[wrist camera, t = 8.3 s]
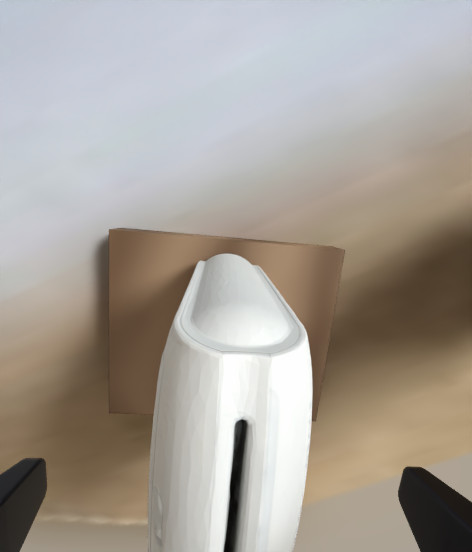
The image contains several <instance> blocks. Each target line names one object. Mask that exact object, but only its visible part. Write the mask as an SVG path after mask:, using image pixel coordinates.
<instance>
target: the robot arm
mask: <svg viewBox="0 0 472 552" xmlns="http://www.w3.org/2000/svg"><path fill="white" fill-rule="evenodd" d="M46 490H47V477H46V463H45V460H44V459H42V458H25V459H23V460H21V461H20V462H18V463H17V464H15V465H14V466H12V467H11V468H10V469H8V470H7V471H5V472H4V473H2V474H1V475H0V552H19V551H20V549H21V547H22V545H23V543H24V541H25V538H26V536H27V534H28V532H29V530H30V528H31V525H32V523H33V521H34V519H35V517H36V515H37V512H38V510H39V508H40V506H41V504H42V502H43V499H44V497H45V494H46ZM398 497H399V501H400V504H401V506H402V509H403V511H404V514H405V516H406V518H407V521H408V523H409V525H410V528H411V530H412V533H413V535H414V537H415V540H416V542H417V544H418V547H419V549H420V551H421V552H472V502H471V501H469V500H468V499H466V498H465V497H463V496H462V495H460V494H459V493H458V492H456V491H455V490H453V489H452V488H451V487H449V486H448V485H446V484H445V483H444V482H442V481H441V480H439V479H438V478H437V477H435V476H434V475H432V474H431V473H430V472H428V471H427V470H425V469H424V468H422V467H406V468H405V469H404V470H403V474H402V478H401V482H400V486H399V490H398Z"/></svg>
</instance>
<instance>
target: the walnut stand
mask: <svg viewBox="0 0 472 552" xmlns="http://www.w3.org/2000/svg"><path fill="white" fill-rule="evenodd" d="M219 254H234V255H238V256H240V257H242V258H244V259H246V260H247V261H248V262H250V264H251V265H257V266H259V267H260V268H261V269H262V270H263V271H264V273H265V274H266V275H267V277H268V278H269V279H270V281H271V282H272V283H273V285H274V286H275V287H276V289H277V290H278V291H279V293H280V294H281V295H282V297H283V298H284V300H285V301H286V302H287V304H288V305H289V306H290V308H291V309H292V311H293V312H294V313H295V315H296V316H297V318H298V319H299V321H300V322H301V323H302V324H303V326H304V328H305V330H306V332H307V336H308V342H309V348H310V355H311V366H312V389H313V394H312V420H311V421H316V417H317V411H318V405H319V399H320V393H321V388H322V382H323V376H324V370H325V364H326V358H327V353H328V347H329V341H330V335H331V329H332V324H333V318H334V312H335V306H336V300H337V294H338V289H339V283H340V277H341V271H342V265H343V259H344V254H345V250H343V249H339V248H336V247H331V246H320V245H308V244H297V243H286V242H275V241H263V240H252V239H241V238H229V237H218V236H207V235H195V234H184V233H173V232H161V231H150V230H139V229H127V228H117V229H109V413H123V414H148V415H154V408H155V400H156V391H157V382H158V375H159V369H160V363H161V358H162V354H163V351H164V349H165V345H166V342H167V338H168V335H169V331H170V329H171V326H172V323H173V320H174V317H175V315H176V313H177V311H178V308H179V306H180V304H181V301H182V299H183V297H184V294H185V292H186V290H187V287H188V285H189V282H190V280H191V278H192V275H193V273H194V270H195V268H196V265H197V263H198V262H199V261H207V260H208V259H209V258H211V257H213V256H215V255H219Z"/></svg>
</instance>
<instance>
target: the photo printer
mask: <svg viewBox="0 0 472 552" xmlns="http://www.w3.org/2000/svg"><path fill="white" fill-rule="evenodd" d="M312 394H313V389H312V366H311V355H310V348H309V342H308V336H307V332H306V330H305V328H304V326H303V324H302V323H301V322H300V321H299V319H298V318H297V316H296V315H295V313H294V312H293V311H292V309H291V308H290V306H289V305H288V304H287V302H286V301H285V300H284V298H283V297H282V295H281V294H280V293H279V291H278V290H277V289H276V287H275V286H274V285H273V283H272V282H271V281H270V279H269V278H268V277H267V275H266V274H265V273H264V271H263V270H262V269H261V268H260V267H259V266H257V265H251V264H250V262H248V261H247V260H246V259H244V258H242V257H240V256H238V255H234V254H219V255H215V256H213V257H211V258H209V259H208V260H207V261H199V262H198V263H197V265H196V268H195V270H194V273H193V275H192V278H191V280H190V282H189V285H188V287H187V290H186V292H185V294H184V297H183V299H182V301H181V304H180V306H179V308H178V311H177V313H176V315H175V317H174V320H173V323H172V326H171V329H170V331H169V335H168V338H167V342H166V345H165V349H164V351H163V354H162V358H161V363H160V369H159V375H158V382H157V391H156V400H155V408H154V416H153V427H152V438H151V452H150V469H149V490H148V552H293V549H294V544H295V540H296V535H297V530H298V525H299V520H300V514H301V508H302V501H303V495H304V489H305V482H306V474H307V465H308V454H309V446H310V435H311V420H312Z"/></svg>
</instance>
